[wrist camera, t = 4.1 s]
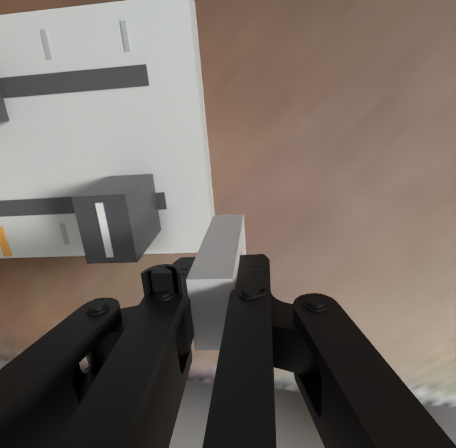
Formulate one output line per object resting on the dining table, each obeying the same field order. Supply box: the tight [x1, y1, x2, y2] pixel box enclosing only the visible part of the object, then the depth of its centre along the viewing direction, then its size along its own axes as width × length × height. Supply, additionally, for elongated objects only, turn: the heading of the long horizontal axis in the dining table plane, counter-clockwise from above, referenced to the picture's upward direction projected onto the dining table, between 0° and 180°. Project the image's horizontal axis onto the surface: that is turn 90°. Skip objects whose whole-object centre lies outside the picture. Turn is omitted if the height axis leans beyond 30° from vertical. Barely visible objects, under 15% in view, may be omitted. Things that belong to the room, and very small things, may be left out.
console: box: [0, 0, 215, 258], centre depth 24 cm, size 16×22×2 cm
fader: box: [71, 174, 161, 264], centre depth 21 cm, size 4×3×5 cm
